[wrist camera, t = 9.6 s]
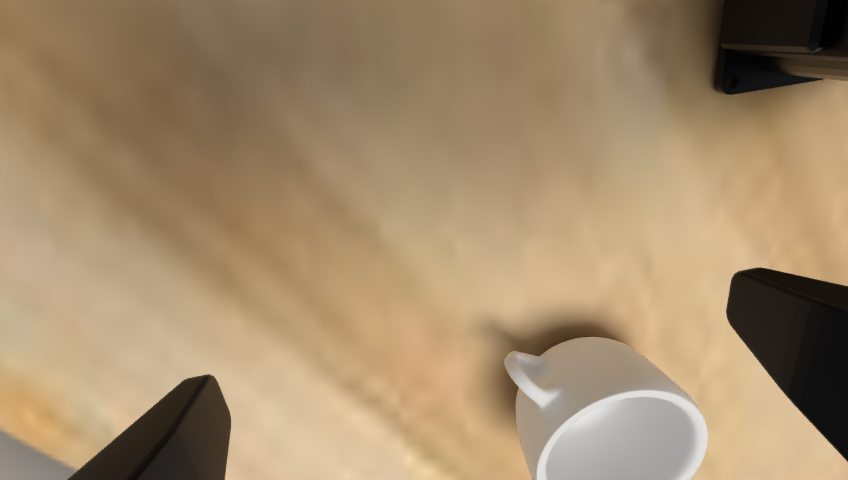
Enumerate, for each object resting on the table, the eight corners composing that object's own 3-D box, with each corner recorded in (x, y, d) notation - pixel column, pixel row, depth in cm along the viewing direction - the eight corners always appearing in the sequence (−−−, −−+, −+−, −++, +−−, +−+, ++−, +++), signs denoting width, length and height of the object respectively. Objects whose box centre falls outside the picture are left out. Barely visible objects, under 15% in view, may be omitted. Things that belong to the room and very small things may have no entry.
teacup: (666, 360, 25) (742, 439, 20) (566, 451, 27) (613, 543, 22) (543, 262, 22) (600, 330, 17) (436, 374, 23) (459, 464, 19)
